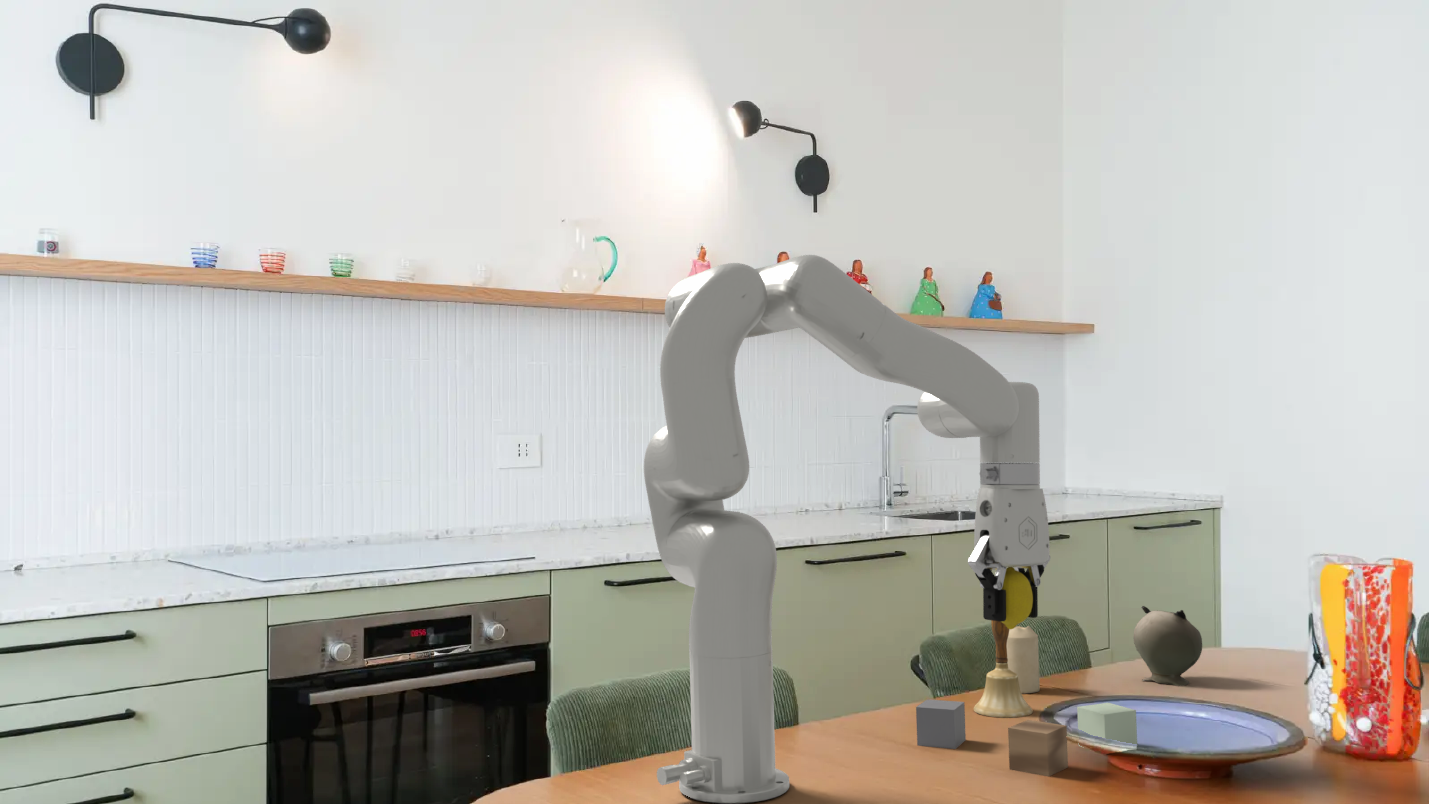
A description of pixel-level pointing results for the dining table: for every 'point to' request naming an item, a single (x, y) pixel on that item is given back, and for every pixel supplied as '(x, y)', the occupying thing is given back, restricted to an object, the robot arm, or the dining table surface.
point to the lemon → (1016, 597)
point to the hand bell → (1002, 683)
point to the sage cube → (1108, 722)
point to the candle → (1024, 658)
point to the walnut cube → (1038, 747)
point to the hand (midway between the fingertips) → (1010, 617)
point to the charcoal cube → (940, 724)
